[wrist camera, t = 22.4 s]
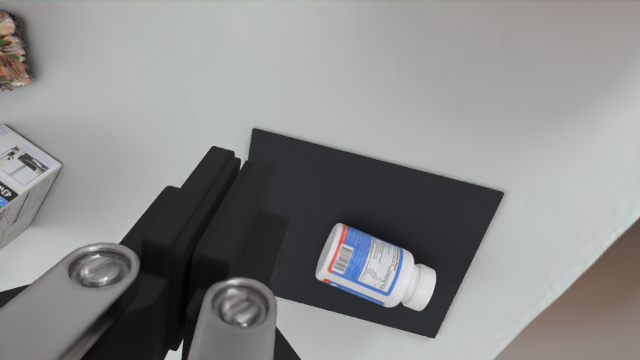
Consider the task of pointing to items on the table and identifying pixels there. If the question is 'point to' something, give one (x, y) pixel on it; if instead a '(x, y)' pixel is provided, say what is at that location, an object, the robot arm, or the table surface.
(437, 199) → the desk mat
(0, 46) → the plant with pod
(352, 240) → the pill bottle
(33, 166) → the light bulb box
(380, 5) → the table surface
